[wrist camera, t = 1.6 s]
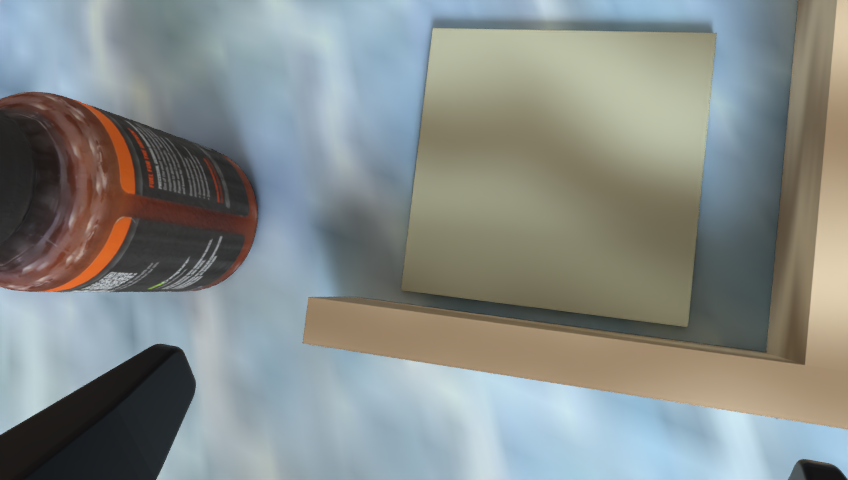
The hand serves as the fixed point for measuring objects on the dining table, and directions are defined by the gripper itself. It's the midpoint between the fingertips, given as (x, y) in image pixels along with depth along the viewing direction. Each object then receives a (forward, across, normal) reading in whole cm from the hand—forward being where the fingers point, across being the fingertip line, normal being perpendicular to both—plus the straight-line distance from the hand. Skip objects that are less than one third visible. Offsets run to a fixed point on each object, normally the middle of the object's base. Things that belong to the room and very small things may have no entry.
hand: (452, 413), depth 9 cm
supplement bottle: (+13, +14, +7) cm, 20 cm away
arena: (+15, 0, +4) cm, 15 cm away
